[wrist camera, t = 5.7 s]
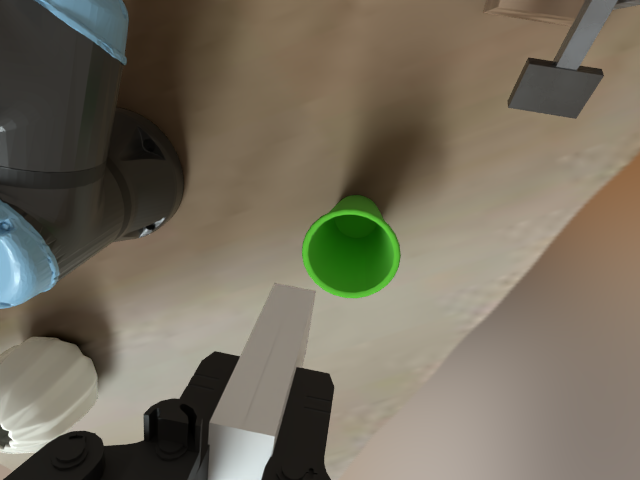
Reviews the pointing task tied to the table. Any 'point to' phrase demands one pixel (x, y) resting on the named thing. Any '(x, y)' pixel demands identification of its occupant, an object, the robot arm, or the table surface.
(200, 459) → the robot arm
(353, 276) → the cup
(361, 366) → the table surface
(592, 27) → the lever
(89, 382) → the vase
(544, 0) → the grey angular frame
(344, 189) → the table surface
